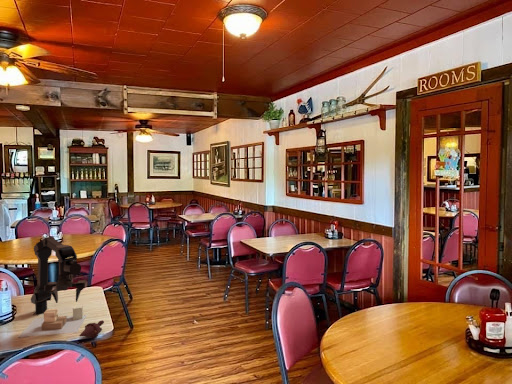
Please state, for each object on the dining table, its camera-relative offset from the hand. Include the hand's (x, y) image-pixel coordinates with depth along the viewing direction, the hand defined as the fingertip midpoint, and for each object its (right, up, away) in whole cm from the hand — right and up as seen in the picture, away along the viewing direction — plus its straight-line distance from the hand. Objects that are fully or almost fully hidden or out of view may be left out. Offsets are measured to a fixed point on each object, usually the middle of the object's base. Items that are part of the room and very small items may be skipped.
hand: (66, 302), depth 192 cm
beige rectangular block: (0, -12, +12) cm, 16 cm away
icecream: (+17, -14, -10) cm, 24 cm away
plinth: (-7, -13, +1) cm, 15 cm away
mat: (-7, -13, +2) cm, 15 cm away
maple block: (-8, -9, +1) cm, 12 cm away
